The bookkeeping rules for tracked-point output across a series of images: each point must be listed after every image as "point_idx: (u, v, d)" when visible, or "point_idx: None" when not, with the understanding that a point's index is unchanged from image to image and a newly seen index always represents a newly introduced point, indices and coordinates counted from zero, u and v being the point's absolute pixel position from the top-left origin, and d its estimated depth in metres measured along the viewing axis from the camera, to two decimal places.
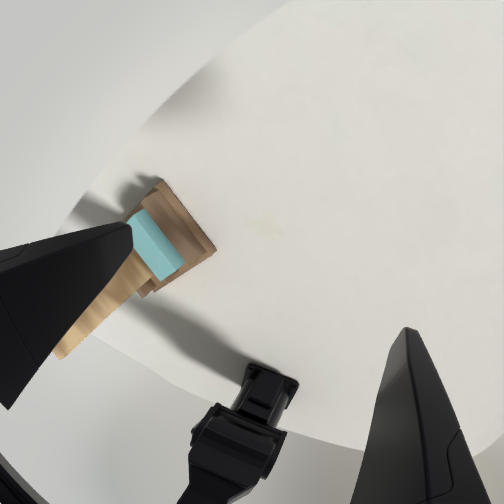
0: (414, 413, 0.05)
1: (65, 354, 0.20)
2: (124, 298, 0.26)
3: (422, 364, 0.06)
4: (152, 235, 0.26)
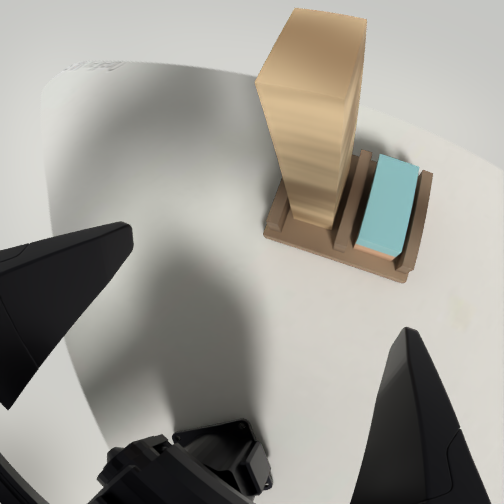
0: (414, 413, 0.05)
1: (344, 98, 0.08)
2: (336, 195, 0.16)
3: (422, 364, 0.06)
4: None
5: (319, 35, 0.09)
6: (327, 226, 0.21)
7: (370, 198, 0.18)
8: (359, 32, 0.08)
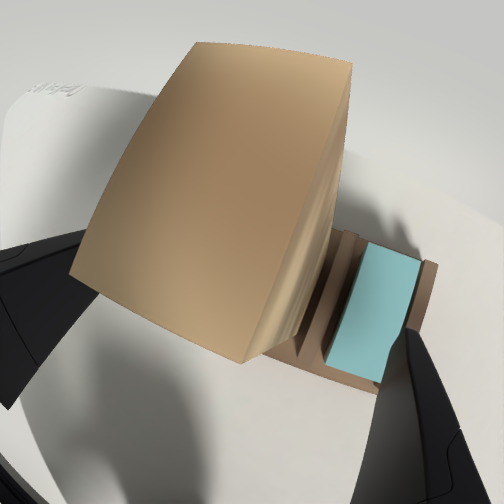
0: (414, 413, 0.05)
1: (245, 351, 0.03)
2: (291, 333, 0.11)
3: (422, 364, 0.06)
4: None
5: (224, 118, 0.04)
6: None
7: (347, 310, 0.14)
8: (328, 105, 0.04)
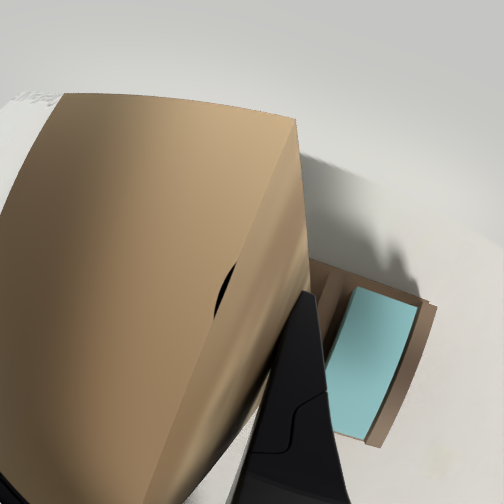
0: None
1: None
2: (258, 403, 0.09)
3: (303, 323, 0.07)
4: None
5: (60, 260, 0.02)
6: None
7: (330, 364, 0.12)
8: (222, 240, 0.02)
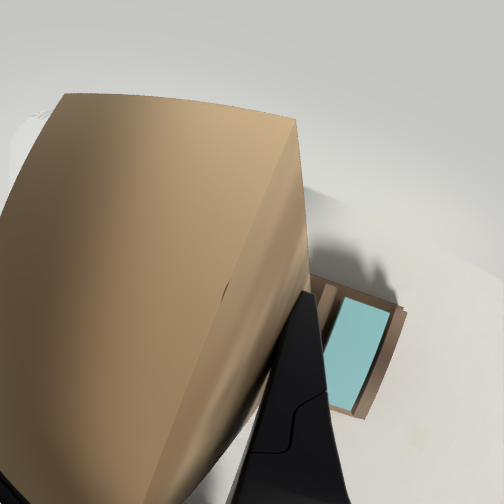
0: None
1: None
2: (258, 403, 0.09)
3: (303, 323, 0.07)
4: None
5: (60, 260, 0.02)
6: None
7: (325, 353, 0.17)
8: (223, 240, 0.02)
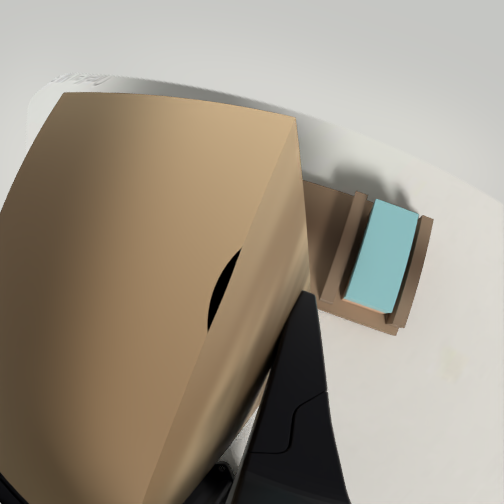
0: None
1: None
2: (258, 403, 0.09)
3: (303, 323, 0.07)
4: None
5: (59, 259, 0.02)
6: None
7: (362, 251, 0.17)
8: (222, 239, 0.02)
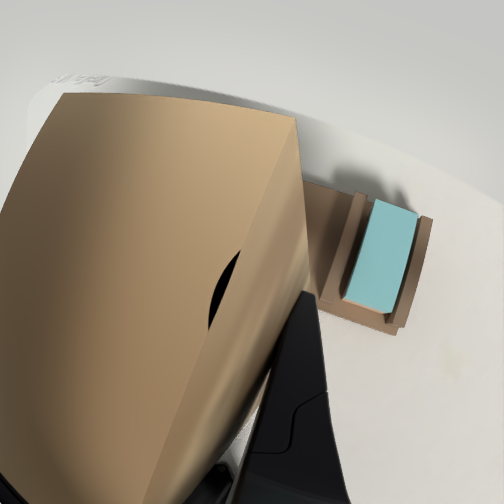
0: None
1: None
2: (258, 403, 0.09)
3: (303, 323, 0.07)
4: None
5: (59, 259, 0.02)
6: None
7: (361, 251, 0.17)
8: (222, 239, 0.02)
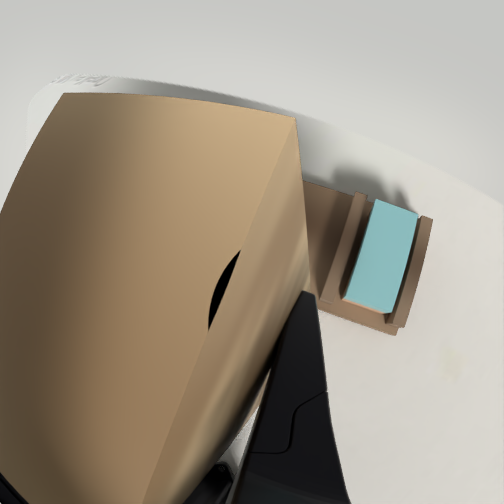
0: None
1: None
2: (258, 403, 0.09)
3: (303, 323, 0.07)
4: None
5: (59, 259, 0.02)
6: None
7: (361, 251, 0.17)
8: (222, 239, 0.02)
